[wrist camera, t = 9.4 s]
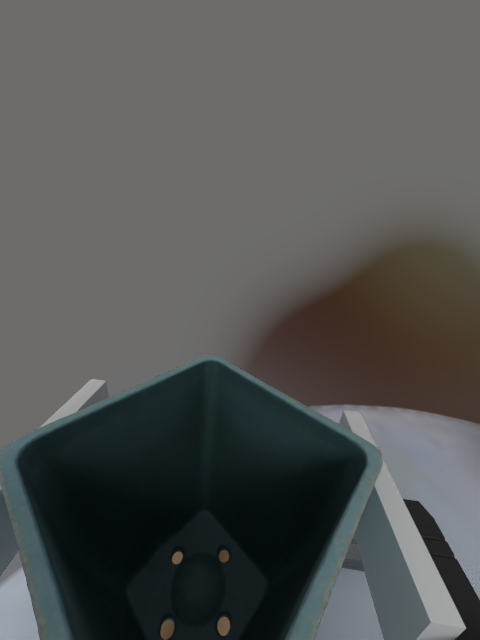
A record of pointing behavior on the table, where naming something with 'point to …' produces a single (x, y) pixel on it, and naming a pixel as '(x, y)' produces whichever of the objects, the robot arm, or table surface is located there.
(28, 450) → the flower pot
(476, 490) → the table surface
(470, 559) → the table surface
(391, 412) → the table surface
